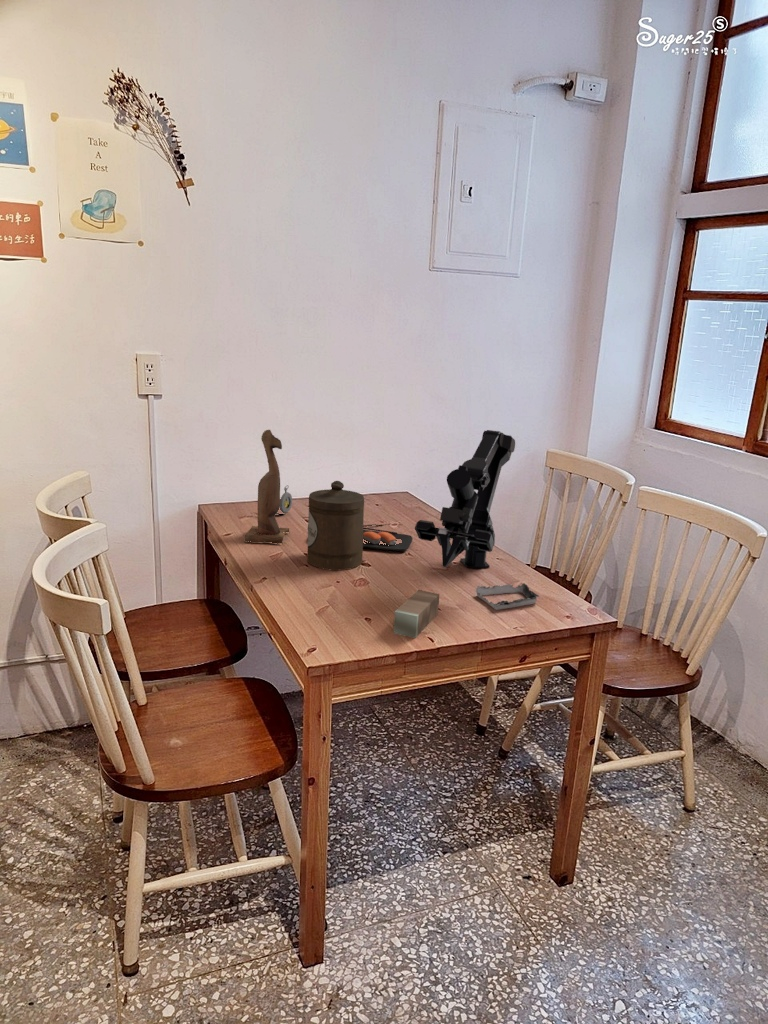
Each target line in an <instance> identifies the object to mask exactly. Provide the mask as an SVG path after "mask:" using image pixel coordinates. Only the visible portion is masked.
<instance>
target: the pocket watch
mask: <svg viewBox="0 0 768 1024" xmlns="http://www.w3.org/2000/svg"><path fill="white" fill-rule="evenodd" d="M288 489H289V485H285V486H284V488H283V490H284V493H282V495H281V496H280V507H279V508H280V510H281V511H282V512H283V513H286V514H287V513H288V512H289V511H290V510H291V507H292V505H293V496H292V494H291V493H290V492H287V491H288ZM276 514H279V513H276Z"/></svg>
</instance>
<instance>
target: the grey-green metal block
mask: <svg viewBox="0 0 768 1024" xmlns="http://www.w3.org/2000/svg"><path fill="white" fill-rule="evenodd" d="M440 595H441V594H440V593H437V592H433V591H432V592H431V591H428V590H422V589H418V590H417V591H415V593H413V595H411V596H410V597H409V598H408V599H406V601H404V603H402V604H401V605H400V606H399V607H398V608H397V609H396V610H395V611H394V620H393V621H394V622H393V634H395V635H399V636H400V635H401V636H405V637H408V638H412V639H416V638H417V637H418V636H419V635H420V634H421V633H422V632H423V631H424V630H425V629H426V628H427V627H428V626H429V625H430V624H431V623H432V621H433V620H434V619H435V618H436V617H438V615H439V605H440Z"/></svg>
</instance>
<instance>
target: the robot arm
mask: <svg viewBox="0 0 768 1024" xmlns="http://www.w3.org/2000/svg"><path fill="white" fill-rule="evenodd" d="M515 449H516V439H515V438H514V437H512V435H510V434H509V435H508V434H505V433H503V432H501V431H499V430H491V429H487V430H484V431H483V433H482V437H481V440H480V442H479V444H478V446H477V448H476V450H475V452H474V453H473V455H472V457H471V459H467V460H466V461H464V462H463V463H462V465H460V464H459V465H458V468H457V469H453V470H451V472H449V473H448V474H447V476H446V483H447V487H448V489H449V492H450V495H451V497H452V498H453V500H452V502H451V506H449V507H445V506H442V508H441V511H440V512H441V513H440V519H439V521H440V522H441V521H442V522H441V526H442V527H436V526H435V523H434V521H431V520H430V521H429V520H424V519H419V520H418V521H417V522H416V523H415V525H414V530H415V532H416V534H417V536H418V539H420V540H421V541H429V542H432V541H434V540H436V539H437V542H438V545H439V546H441V555H442V567H443V568H448V567H449V566H450V564H451V563H452V562H453V561H454V560H455V559H456V558H457V557H458V556H459V555H461V554H462V553H463V552H464V553H465V554H464V558H463V557H462V558H460V559H459V560H460V562H461V563H462V564H463V565H464V566H465V567H466V568H468V569H473V568H474V569H475V568H476V569H478V568H479V569H481V568H483V569H485V568H490V567H491V565H490V564H489V563H488V562H487V552H490V553H491V552H493V549H494V547H495V542H496V538H495V537H496V534H495V531H494V527H493V524H494V523H493V520H492V517H491V514H490V512H491V507H492V504H493V502H494V501H493V499H494V497H495V493H496V491H497V490H496V489H497V486H498V481H499V478H500V474H501V470H502V467H503V466H504V465H506V464H507V462H509V461H510V460H511V456H512V453H514V452H515ZM476 491H477V492H476ZM451 540H452V542H451Z"/></svg>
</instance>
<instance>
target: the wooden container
mask: <svg viewBox="0 0 768 1024" xmlns="http://www.w3.org/2000/svg"><path fill="white" fill-rule="evenodd" d="M343 488H345V486H344V483H343V482H342V481H340V480H333V482H331V483H330V489H319V490H315V491H312V492H310V493H309V495H308V517H307V518H308V519H307V521H308V523H307V555H306V557H307V562H308V563H309V564H310V563H311V564H312V565H311V564H310V565H311V566H313V565H314V567H315V566H317V567H316V568H318V567H320V569H322V568H324V569H323V570H329V569H331V571H332V570H333V571H339V570H350V568H351V569H354V568H356V567H359V566H360V565H362V563H363V553H364V552H363V549H364V547H363V530H364V529H363V525H364V513H365V511H364V510H365V496H364V495H363V494H362V493H359V492H356V491H353V490H346V489H343Z"/></svg>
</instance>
